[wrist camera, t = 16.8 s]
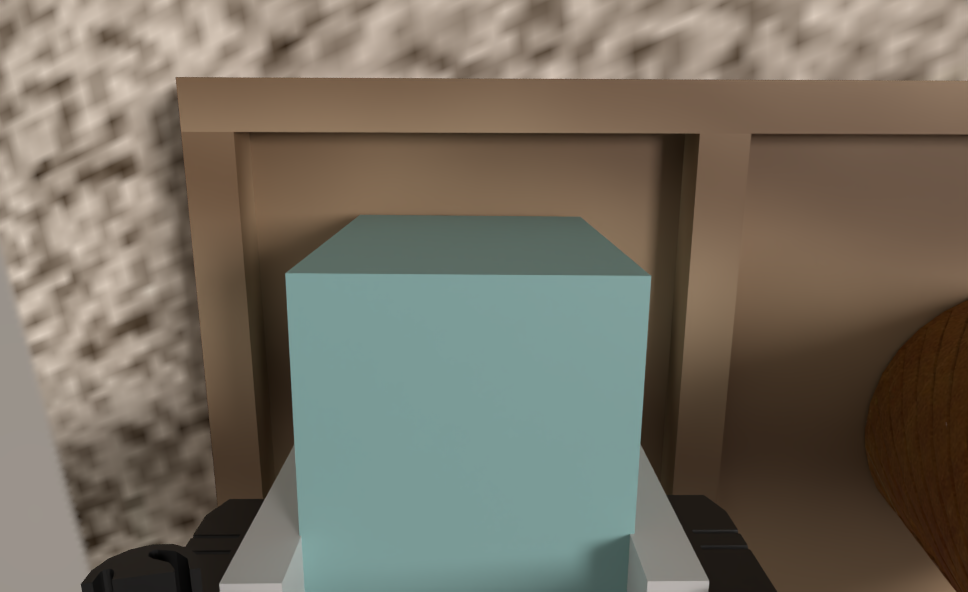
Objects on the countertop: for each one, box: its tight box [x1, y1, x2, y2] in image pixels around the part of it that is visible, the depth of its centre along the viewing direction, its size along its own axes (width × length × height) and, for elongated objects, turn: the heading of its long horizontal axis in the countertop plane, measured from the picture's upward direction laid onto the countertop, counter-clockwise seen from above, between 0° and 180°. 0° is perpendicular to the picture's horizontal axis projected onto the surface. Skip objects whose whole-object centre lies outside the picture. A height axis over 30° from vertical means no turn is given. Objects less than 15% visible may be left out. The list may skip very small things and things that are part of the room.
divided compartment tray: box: [176, 77, 968, 592], centre depth 17 cm, size 15×26×2 cm, turn 90°
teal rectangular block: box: [285, 215, 651, 592], centre depth 13 cm, size 10×4×6 cm, turn 179°
